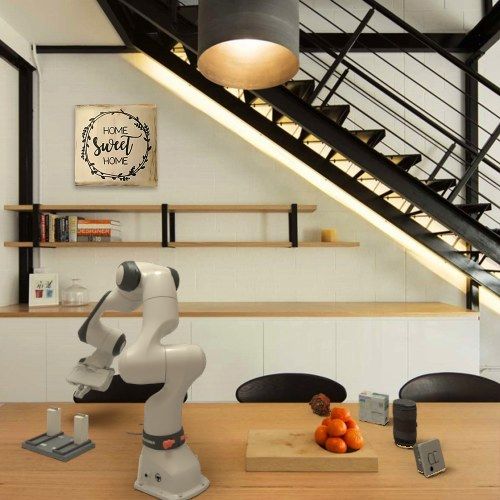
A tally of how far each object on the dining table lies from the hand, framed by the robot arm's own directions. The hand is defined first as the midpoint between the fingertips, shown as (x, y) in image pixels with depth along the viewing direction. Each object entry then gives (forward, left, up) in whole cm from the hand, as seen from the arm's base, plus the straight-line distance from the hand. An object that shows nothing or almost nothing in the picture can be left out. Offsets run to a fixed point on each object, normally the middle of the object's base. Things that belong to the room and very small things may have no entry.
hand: (77, 397), depth 161 cm
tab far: (-3, +10, -10) cm, 15 cm away
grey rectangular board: (-11, +12, -12) cm, 20 cm away
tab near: (-17, +6, -10) cm, 21 cm away
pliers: (-23, -19, -12) cm, 32 cm away
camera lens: (-97, -72, -12) cm, 121 cm away
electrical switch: (-110, -59, -12) cm, 125 cm away
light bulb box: (-79, -85, -12) cm, 117 cm away
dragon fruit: (-58, -78, -12) cm, 98 cm away
